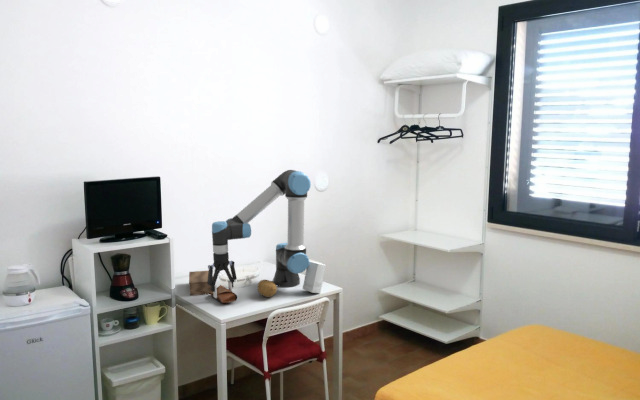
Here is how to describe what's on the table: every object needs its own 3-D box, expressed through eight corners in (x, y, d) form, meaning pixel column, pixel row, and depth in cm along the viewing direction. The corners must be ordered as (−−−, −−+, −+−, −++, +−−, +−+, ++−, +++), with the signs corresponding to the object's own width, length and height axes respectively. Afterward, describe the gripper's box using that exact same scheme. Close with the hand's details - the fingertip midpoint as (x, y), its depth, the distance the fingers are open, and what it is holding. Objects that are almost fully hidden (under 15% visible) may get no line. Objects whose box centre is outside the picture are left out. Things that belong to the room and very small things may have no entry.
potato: (270, 290, 270) (270, 276, 269) (281, 298, 258) (280, 283, 257) (253, 293, 266) (253, 278, 264) (263, 301, 253) (263, 286, 252)
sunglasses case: (206, 293, 260) (212, 281, 261) (217, 297, 264) (223, 285, 265) (222, 303, 245) (228, 290, 246) (233, 307, 250) (239, 294, 251)
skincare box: (320, 293, 265) (327, 265, 266) (311, 292, 261) (318, 263, 262) (310, 289, 272) (316, 261, 272) (301, 288, 267) (307, 260, 268)
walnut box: (212, 282, 284) (211, 270, 283) (213, 294, 264) (213, 281, 263) (189, 284, 281) (189, 271, 280) (189, 296, 261) (189, 282, 260)
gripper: (235, 247, 260) (237, 289, 264) (198, 254, 248) (200, 298, 252) (242, 250, 255) (244, 293, 258) (204, 257, 242) (207, 302, 246)
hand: (223, 295), depth 255 cm, fingers closed on sunglasses case, 8 cm apart
